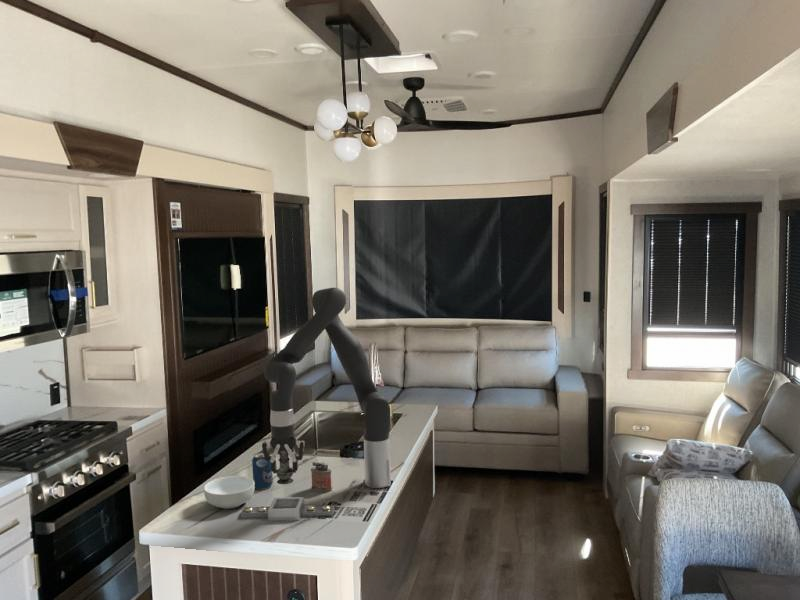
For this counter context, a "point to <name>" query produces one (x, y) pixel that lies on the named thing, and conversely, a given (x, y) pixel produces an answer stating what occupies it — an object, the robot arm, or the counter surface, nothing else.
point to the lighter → (321, 477)
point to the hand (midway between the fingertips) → (284, 472)
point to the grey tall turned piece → (284, 469)
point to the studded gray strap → (287, 510)
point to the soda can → (261, 471)
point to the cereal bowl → (229, 491)
